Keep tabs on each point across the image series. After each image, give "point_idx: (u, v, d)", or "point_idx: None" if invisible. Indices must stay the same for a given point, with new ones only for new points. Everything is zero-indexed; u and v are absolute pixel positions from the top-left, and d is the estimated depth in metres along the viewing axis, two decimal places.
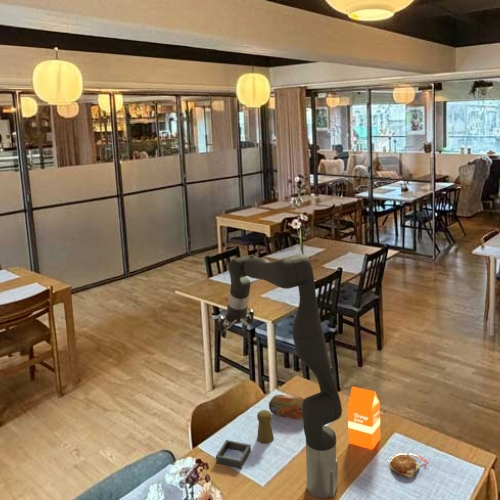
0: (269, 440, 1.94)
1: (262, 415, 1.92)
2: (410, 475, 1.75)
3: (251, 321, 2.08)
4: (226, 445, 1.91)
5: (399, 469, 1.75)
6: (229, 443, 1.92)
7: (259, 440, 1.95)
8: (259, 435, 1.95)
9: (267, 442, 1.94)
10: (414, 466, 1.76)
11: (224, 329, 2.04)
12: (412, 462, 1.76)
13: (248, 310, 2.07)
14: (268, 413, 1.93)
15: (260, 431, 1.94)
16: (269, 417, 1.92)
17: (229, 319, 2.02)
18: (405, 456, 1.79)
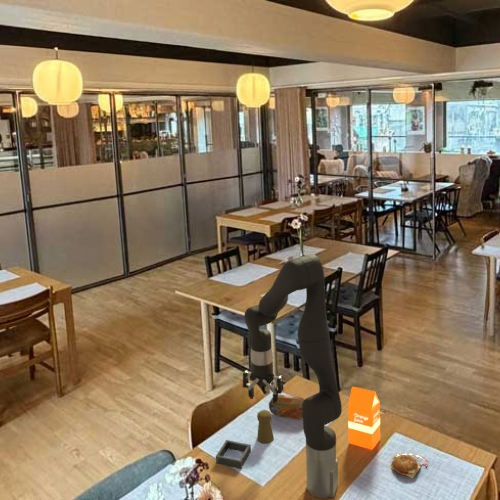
0: (269, 440, 1.94)
1: (262, 415, 1.92)
2: (412, 475, 1.75)
3: (279, 390, 1.87)
4: (226, 445, 1.91)
5: (401, 469, 1.75)
6: (229, 443, 1.92)
7: (259, 440, 1.95)
8: (259, 435, 1.95)
9: (267, 442, 1.94)
10: (415, 466, 1.76)
11: (248, 386, 1.91)
12: (413, 462, 1.76)
13: (277, 376, 1.88)
14: (268, 413, 1.93)
15: (260, 431, 1.94)
16: (269, 417, 1.92)
17: (252, 376, 1.89)
18: (406, 456, 1.79)
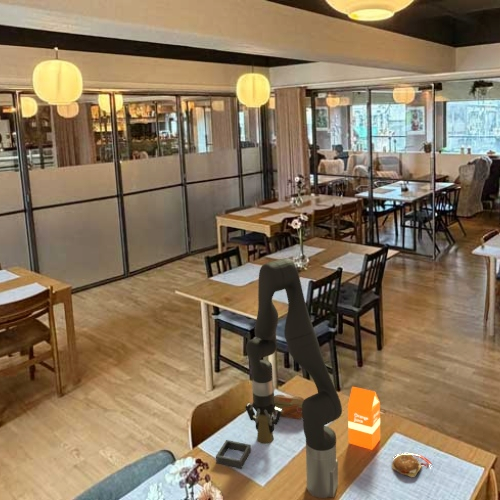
0: (269, 440, 1.94)
1: (262, 415, 1.92)
2: (413, 475, 1.75)
3: (275, 421, 1.92)
4: (226, 445, 1.91)
5: (402, 469, 1.75)
6: (229, 443, 1.92)
7: (259, 440, 1.95)
8: (259, 435, 1.95)
9: (267, 442, 1.94)
10: (416, 466, 1.76)
11: (255, 420, 1.95)
12: (414, 462, 1.76)
13: (278, 408, 1.91)
14: None
15: (260, 431, 1.94)
16: None
17: (254, 408, 1.93)
18: (407, 456, 1.79)
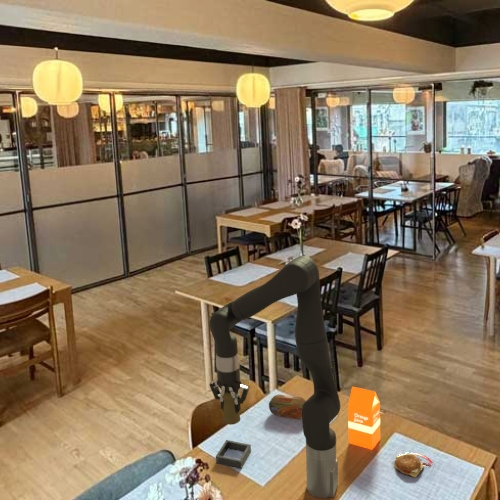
0: (234, 420, 1.80)
1: (227, 393, 1.79)
2: (415, 474, 1.75)
3: (240, 400, 1.78)
4: (226, 445, 1.91)
5: (404, 469, 1.75)
6: (229, 443, 1.92)
7: (224, 420, 1.81)
8: (224, 415, 1.81)
9: (233, 422, 1.80)
10: (419, 465, 1.76)
11: (220, 398, 1.81)
12: (417, 461, 1.77)
13: None
14: None
15: (225, 410, 1.80)
16: None
17: (218, 385, 1.80)
18: (409, 456, 1.79)
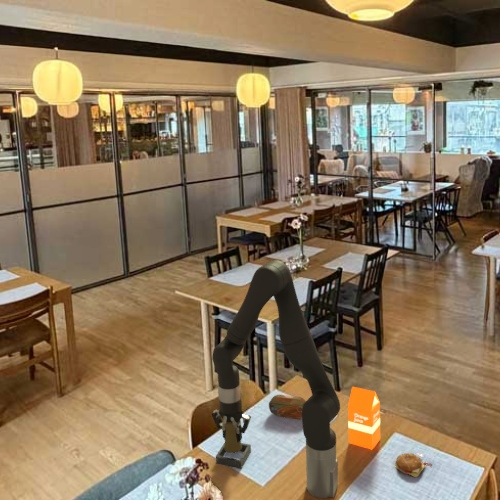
0: (236, 449, 1.84)
1: (229, 423, 1.82)
2: (416, 474, 1.75)
3: (242, 430, 1.81)
4: None
5: (405, 468, 1.75)
6: None
7: (226, 449, 1.85)
8: (226, 444, 1.84)
9: (234, 451, 1.84)
10: (420, 465, 1.76)
11: (222, 427, 1.84)
12: (418, 461, 1.77)
13: None
14: None
15: (227, 439, 1.84)
16: None
17: (220, 415, 1.83)
18: (411, 455, 1.79)
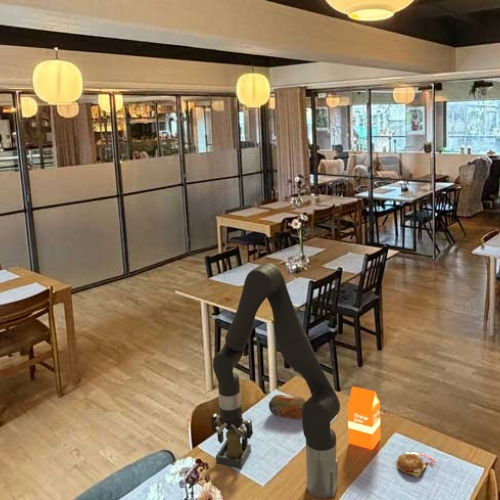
0: None
1: (231, 434, 1.83)
2: (417, 474, 1.75)
3: (248, 435, 1.81)
4: (226, 445, 1.91)
5: (406, 468, 1.75)
6: None
7: None
8: (228, 454, 1.85)
9: None
10: (421, 465, 1.76)
11: (217, 431, 1.85)
12: (419, 461, 1.77)
13: (246, 420, 1.82)
14: None
15: (229, 450, 1.85)
16: (238, 436, 1.83)
17: (221, 420, 1.84)
18: (412, 455, 1.79)
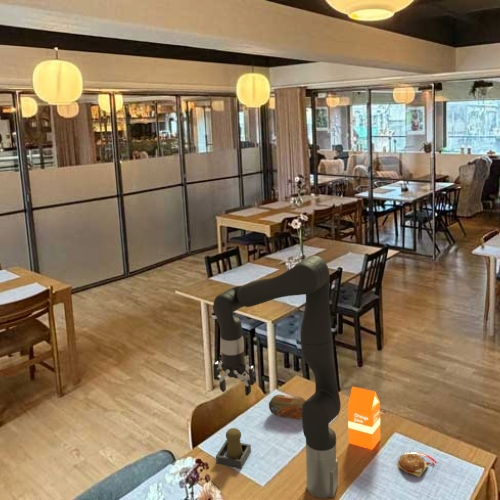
0: None
1: (230, 434, 1.83)
2: (418, 474, 1.75)
3: (251, 381, 1.77)
4: (226, 445, 1.91)
5: (407, 468, 1.75)
6: None
7: None
8: (228, 455, 1.85)
9: None
10: (422, 465, 1.76)
11: (219, 379, 1.81)
12: (420, 461, 1.77)
13: None
14: (237, 431, 1.84)
15: (229, 450, 1.85)
16: (238, 436, 1.83)
17: (223, 367, 1.79)
18: (413, 455, 1.79)
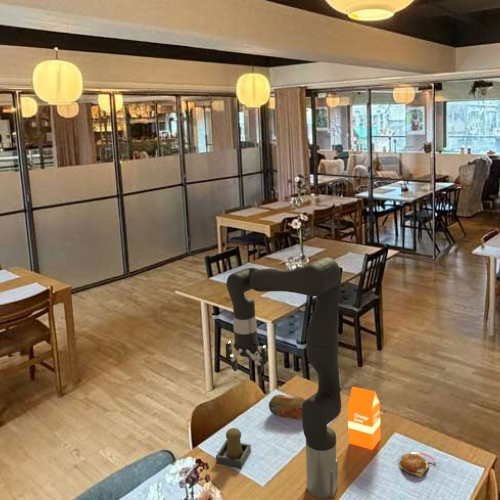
0: None
1: (230, 434, 1.83)
2: (420, 474, 1.75)
3: (263, 361, 1.79)
4: (226, 445, 1.91)
5: (409, 468, 1.75)
6: None
7: None
8: (228, 454, 1.85)
9: None
10: (424, 465, 1.76)
11: (231, 358, 1.83)
12: (422, 461, 1.77)
13: (261, 346, 1.79)
14: (237, 431, 1.84)
15: (229, 450, 1.85)
16: (238, 436, 1.83)
17: (235, 346, 1.81)
18: (415, 455, 1.79)
